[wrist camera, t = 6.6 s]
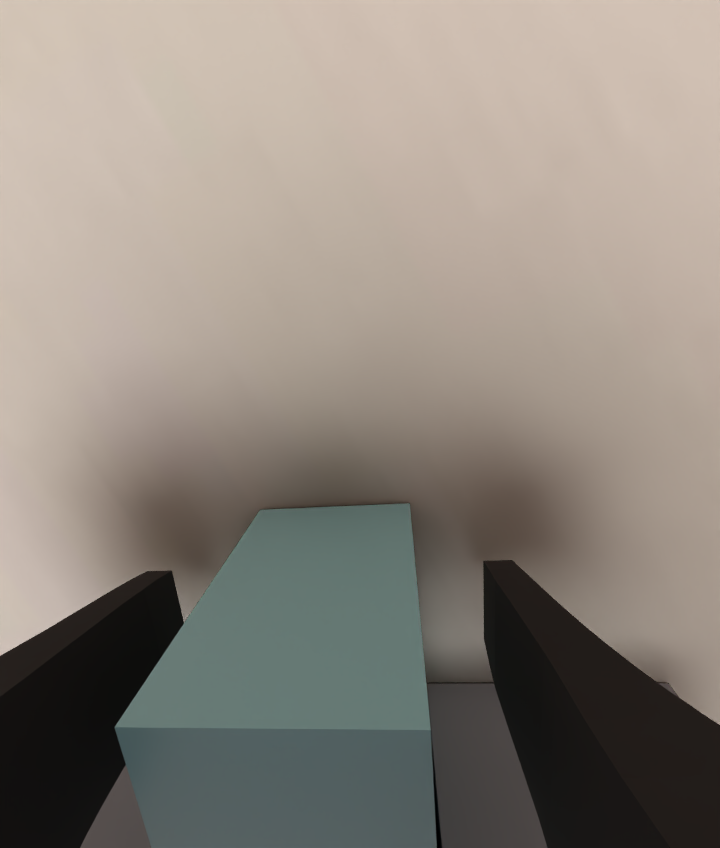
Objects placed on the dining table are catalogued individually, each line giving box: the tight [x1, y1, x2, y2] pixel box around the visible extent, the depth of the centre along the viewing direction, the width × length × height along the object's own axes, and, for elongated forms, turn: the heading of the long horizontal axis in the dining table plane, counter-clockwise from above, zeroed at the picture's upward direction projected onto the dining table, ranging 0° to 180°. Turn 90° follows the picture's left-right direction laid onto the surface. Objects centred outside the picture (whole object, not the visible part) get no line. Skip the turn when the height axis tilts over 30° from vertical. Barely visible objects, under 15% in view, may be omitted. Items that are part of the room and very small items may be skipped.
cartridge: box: [115, 503, 437, 848], centre depth 10 cm, size 4×15×6 cm, turn 5°
